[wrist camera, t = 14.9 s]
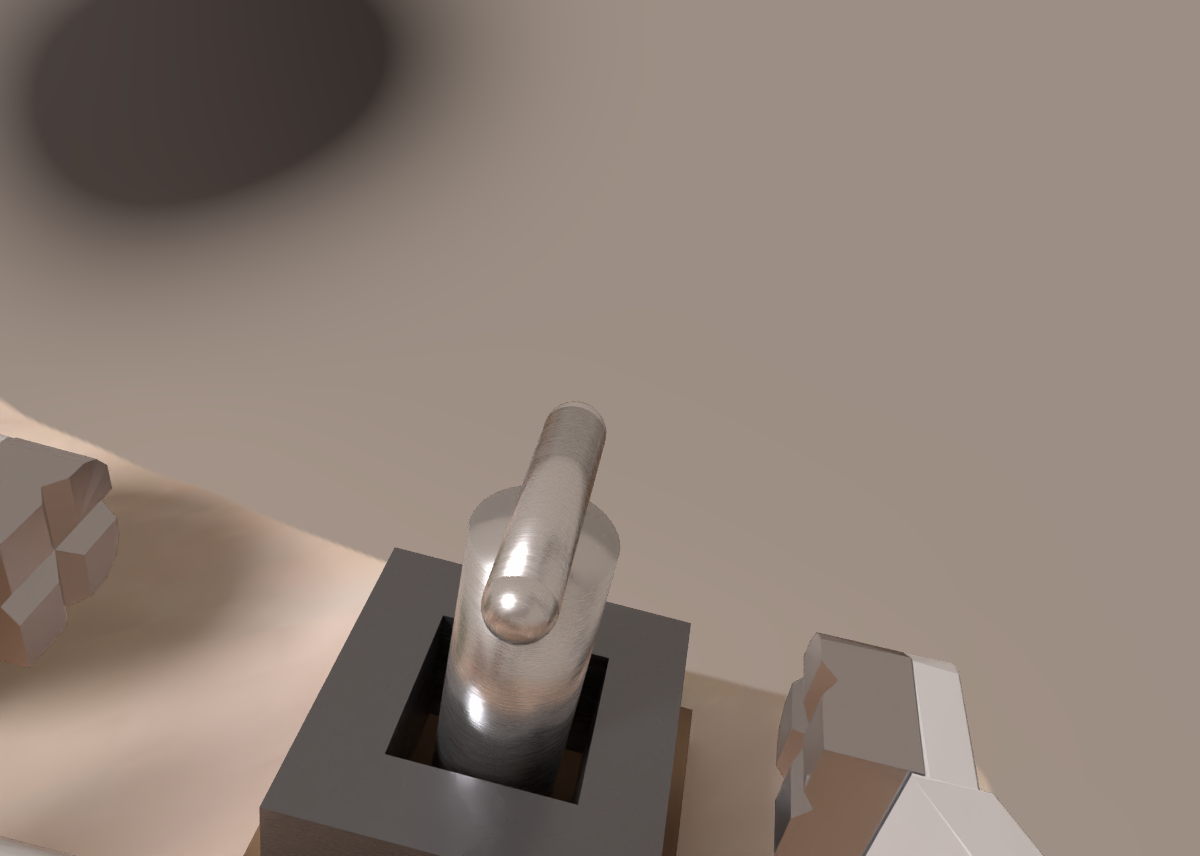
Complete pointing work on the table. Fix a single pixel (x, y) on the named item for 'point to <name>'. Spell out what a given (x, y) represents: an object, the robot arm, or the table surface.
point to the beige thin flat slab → (573, 778)
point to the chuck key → (528, 612)
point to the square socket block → (458, 802)
